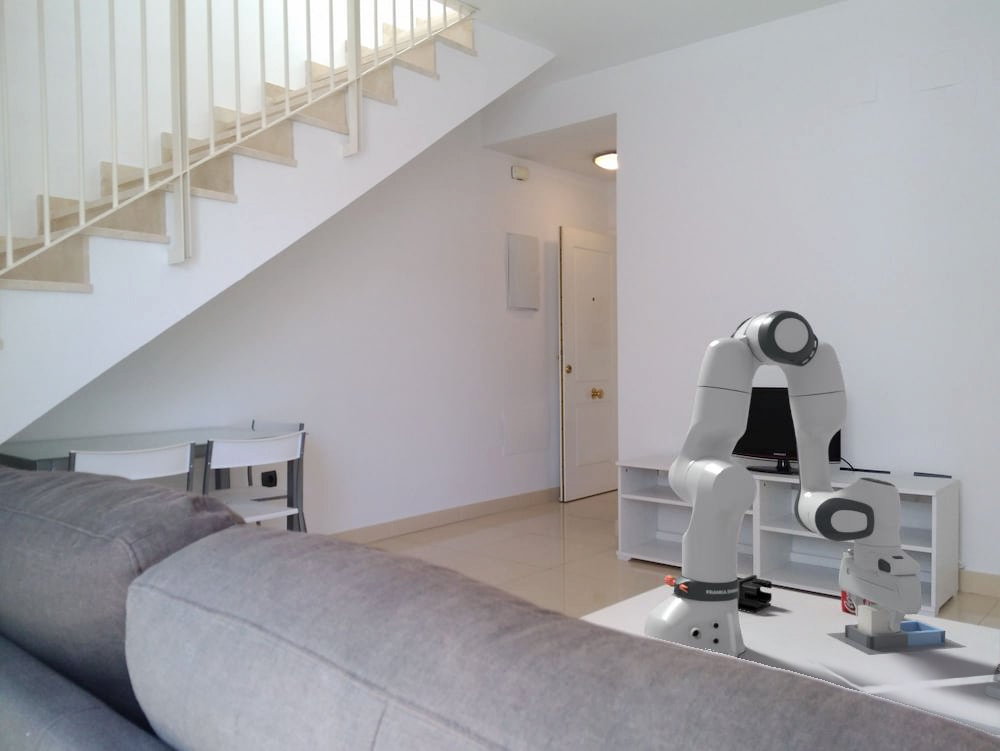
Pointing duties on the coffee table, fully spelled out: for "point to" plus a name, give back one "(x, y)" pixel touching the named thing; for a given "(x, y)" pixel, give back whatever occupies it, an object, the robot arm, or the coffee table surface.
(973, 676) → the coffee table surface
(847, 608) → the soda can
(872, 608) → the plug
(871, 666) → the coffee table surface
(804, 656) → the coffee table surface
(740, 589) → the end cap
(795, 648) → the coffee table surface
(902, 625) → the divided sorting tray
